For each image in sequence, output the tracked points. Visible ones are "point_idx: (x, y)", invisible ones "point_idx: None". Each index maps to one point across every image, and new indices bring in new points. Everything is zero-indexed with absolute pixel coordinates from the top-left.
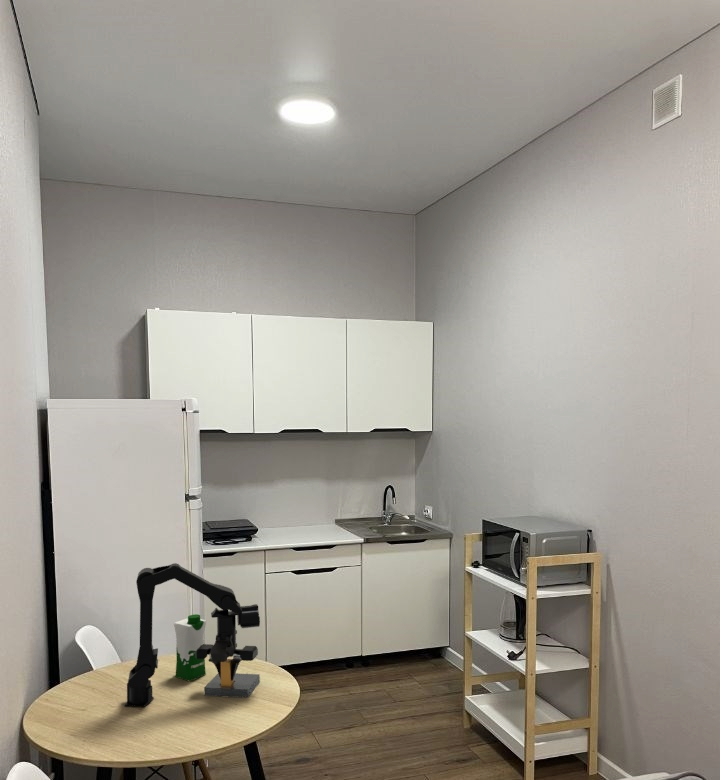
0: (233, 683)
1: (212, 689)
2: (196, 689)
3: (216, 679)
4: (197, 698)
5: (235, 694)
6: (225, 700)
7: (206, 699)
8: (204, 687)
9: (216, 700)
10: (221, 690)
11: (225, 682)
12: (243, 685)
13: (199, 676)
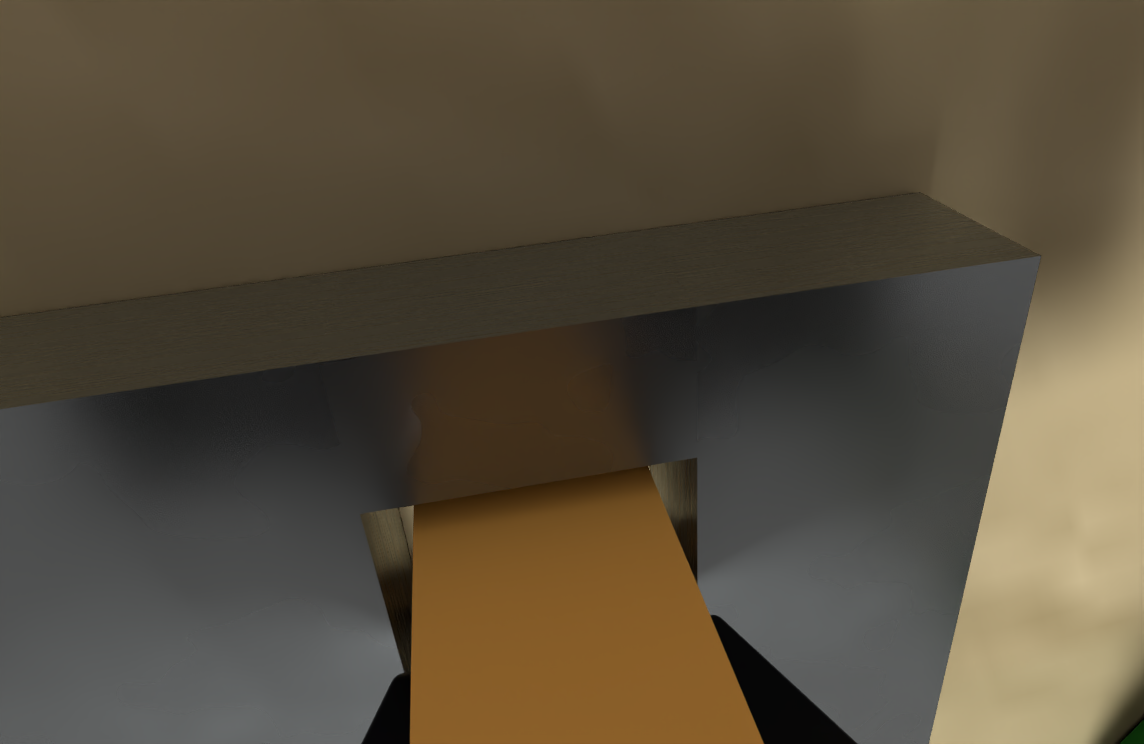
0: (387, 631)
1: (796, 272)
2: (1122, 405)
3: (859, 669)
4: (1040, 18)
5: (157, 322)
6: (306, 58)
7: (816, 9)
8: (1035, 255)
9: (542, 4)
10: (542, 300)
11: (545, 559)
12: (46, 620)
13: (1138, 735)
